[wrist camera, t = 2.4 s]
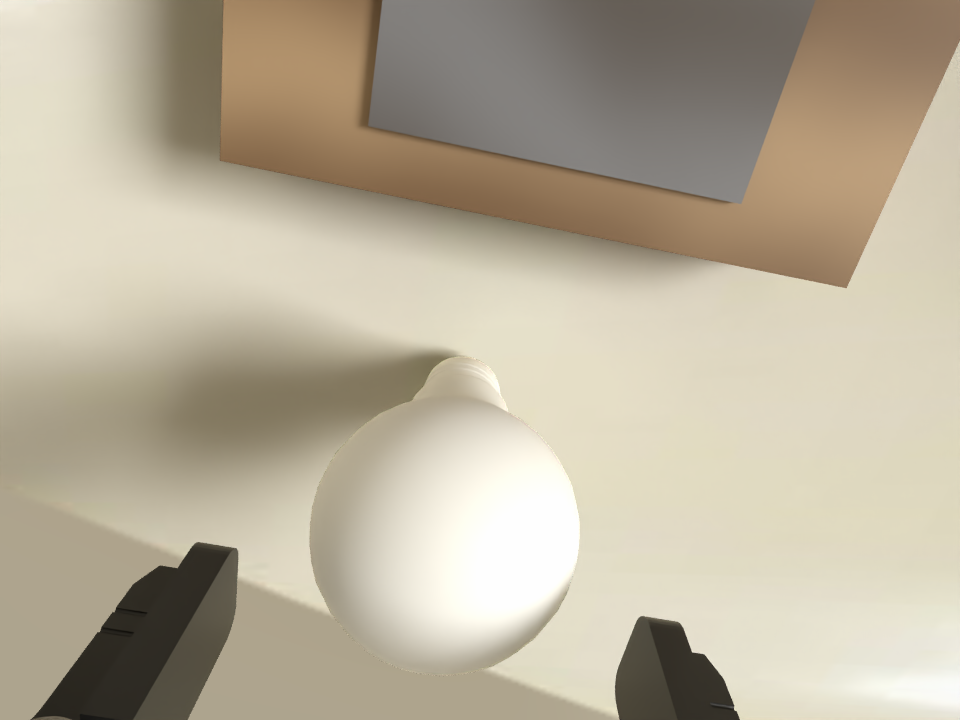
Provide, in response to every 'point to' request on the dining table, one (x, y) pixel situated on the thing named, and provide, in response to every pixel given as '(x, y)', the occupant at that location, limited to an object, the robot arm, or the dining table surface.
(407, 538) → the lightbulb
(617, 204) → the brown wooden flat block
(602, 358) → the dining table surface
